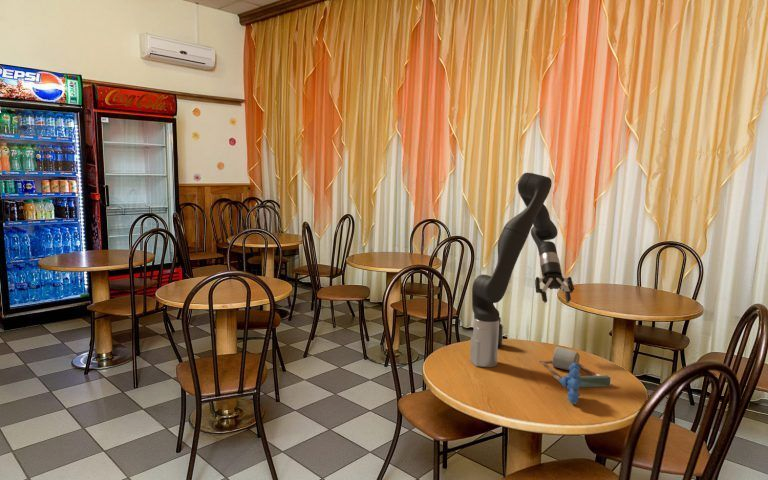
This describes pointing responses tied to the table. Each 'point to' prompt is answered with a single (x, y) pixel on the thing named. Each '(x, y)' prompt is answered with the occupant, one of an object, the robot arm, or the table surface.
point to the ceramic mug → (564, 358)
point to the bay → (584, 377)
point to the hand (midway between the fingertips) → (557, 301)
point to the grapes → (572, 382)
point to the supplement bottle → (500, 334)
